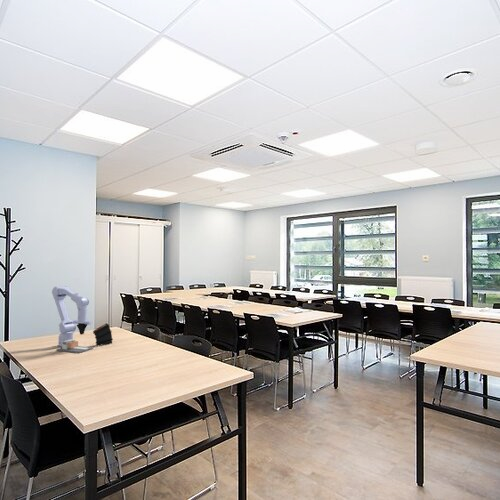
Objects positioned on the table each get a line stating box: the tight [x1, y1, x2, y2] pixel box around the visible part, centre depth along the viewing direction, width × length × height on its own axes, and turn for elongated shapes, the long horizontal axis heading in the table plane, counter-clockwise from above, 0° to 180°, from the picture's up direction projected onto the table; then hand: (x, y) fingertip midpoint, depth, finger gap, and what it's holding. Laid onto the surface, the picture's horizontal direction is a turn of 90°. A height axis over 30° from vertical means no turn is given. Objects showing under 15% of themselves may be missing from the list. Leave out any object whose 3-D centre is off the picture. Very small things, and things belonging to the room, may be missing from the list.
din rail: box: [56, 345, 94, 354], centre depth 245 cm, size 20×12×3 cm, turn 71°
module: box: [62, 339, 76, 349], centre depth 247 cm, size 4×7×5 cm, turn 161°
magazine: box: [92, 323, 114, 346], centre depth 263 cm, size 4×13×15 cm, turn 133°
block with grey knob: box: [68, 340, 79, 348], centre depth 246 cm, size 3×6×4 cm, turn 161°
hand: (81, 334), depth 253 cm, fingers closed
